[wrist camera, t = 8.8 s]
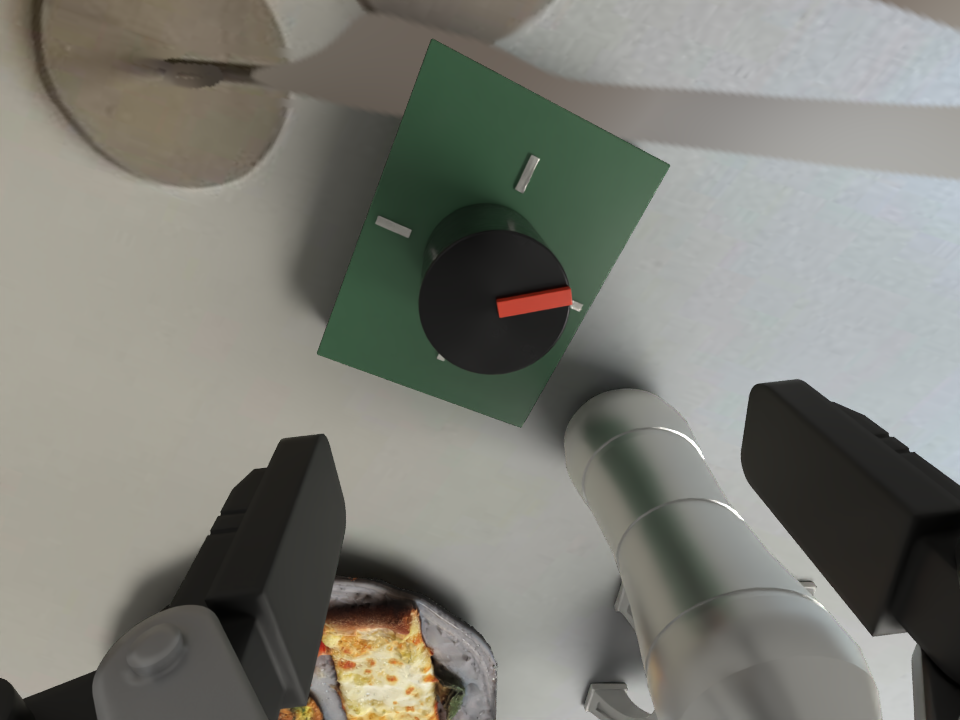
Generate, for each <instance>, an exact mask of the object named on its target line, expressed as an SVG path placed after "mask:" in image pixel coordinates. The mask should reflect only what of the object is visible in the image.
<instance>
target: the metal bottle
mask: <svg viewBox="0 0 960 720" xmlns="http://www.w3.org/2000/svg"><path fill="white" fill-rule="evenodd" d="M564 449H565V459H566V468H567V471H568V474H569V477H570V479H571V480H572V482H573V484H574V486H575V487H576V489H577V491H578V493H579V494H580V496H581V497H582V499H583V500H584V502H585V503H586V504H587V506H588V507H589V509H590V510H591V511H592V513H593V515H594V517H595V519H596V521H597V523H598V525H599V527H600V529H601V531H602V533H603V535H604V537H605V539H606V541H607V542H608V544H609V546H610V548H611V550H612V552H613V554H614V558H615V561H616V564H617V567H618V570H619V573H620V576H621V579H622V582H623V585H624V588H625V591H626V594H627V597H628V601H629V604H630V607H631V611H632V616H633V620H634V625H635V629H636V634H637V638H638V643H639V648H640V652H641V657H642V661H643V666H644V670H645V675H646V678H647V684H648V688H649V692H650V695H651V698H652V702H653V705H654V709H655V712H656V715H657V718H658V720H882V712H881V705H880V697H879V691H878V689H877V686H876V684H875V681H874V679H873V677H872V674H871V672H870V670H869V667H868V665H867V663H866V660H865V658H864V656H863V653H862V651H861V649H860V647H859V646H858V645H857V644H856V642H855V641H854V640H853V639H852V638H851V637H850V636H849V634H848V633H847V632H846V631H845V630H844V629H843V628H842V626H841V625H840V624H839V623H838V622H837V621H836V619H835V618H834V617H833V616H832V615H831V614H830V613H829V612H828V611H826V609H825V608H824V607H823V606H822V605H821V604H820V603H819V602H818V601H817V600H816V599H815V598H814V597H813V596H812V595H811V593H810V592H809V591H808V590H807V589H806V588H805V587H804V586H803V585H802V584H801V583H800V582H799V581H798V580H797V579H796V578H795V577H794V576H793V575H792V574H791V573H790V572H789V571H788V570H787V569H786V568H785V567H784V566H783V565H782V564H781V563H780V562H779V561H778V560H777V559H776V558H775V557H774V556H773V555H772V554H771V553H770V552H769V551H768V549H767V548H766V547H765V546H764V545H763V543H762V542H761V541H760V540H759V538H758V537H757V536H756V535H755V534H754V532H753V531H752V530H751V529H750V528H749V526H748V525H747V524H746V523H745V522H744V521H743V519H742V518H741V516H740V515H739V514H738V513H737V512H736V510H735V509H734V508H733V507H732V506H731V504H730V503H729V501H728V500H727V498H726V496H725V495H724V493H723V491H722V490H721V488H720V486H719V484H718V483H717V481H716V479H715V478H714V476H713V474H712V473H711V471H710V469H709V467H708V466H707V464H706V462H705V461H704V457H703V455H702V452H701V449H700V447H699V445H698V443H697V440H696V438H695V436H694V435H693V433H692V431H691V429H690V427H689V425H688V423H687V421H686V420H685V419H684V418H683V416H682V415H681V414H680V413H679V412H678V411H677V410H675V409H674V408H673V407H671V406H670V405H669V404H668V403H666V402H665V401H664V400H662V399H661V398H660V397H658V396H657V395H655V394H652V393H650V392H648V391H644V390H639V389H628V388H625V389H617V390H610V391H607V392H604V393H601V394H599V395H597V396H595V397H593V398H591V399H590V400H589V401H587V402H586V403H585V404H583V405H582V406H581V407H580V408H579V410H578V411H577V412H576V413H575V414H574V415H573V417H572V419H571V420H570V422H569V424H568V426H567V429H566V432H565V437H564Z"/></svg>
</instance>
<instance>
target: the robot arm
mask: <svg viewBox="0 0 960 720" xmlns="http://www.w3.org/2000/svg"><path fill="white" fill-rule="evenodd" d="M741 463H742V468H743V471H744V474H745V477H746V479H747V481H748V483H749V484H750V486H751V487H752V488H753V489H754V491H755V492H756V493H757V494H758V496H759V497H760V498H761V499H762V501H763V502H764V503H765V504H766V505H767V507H768V508H769V509H770V510H771V512H772V513H773V514H774V515H775V517H776V518H777V519H778V520H779V522H780V523H781V524H782V525H783V526H784V528H785V529H786V530H787V531H788V533H789V534H790V535H791V536H792V538H793V539H794V540H795V541H796V543H797V544H798V545H799V546H800V547H801V549H802V550H803V551H804V552H805V554H806V555H807V556H808V557H809V559H810V560H811V561H812V562H813V563H814V565H815V566H816V567H817V568H818V570H819V571H820V572H821V573H822V575H823V576H824V577H825V578H826V580H827V581H828V582H829V583H830V584H831V586H832V587H833V588H834V589H835V591H836V592H837V593H838V594H839V596H840V597H841V598H842V599H843V601H844V602H845V603H846V604H847V605H848V607H849V608H850V609H851V610H852V612H853V613H854V614H855V615H856V617H857V618H858V619H859V620H860V622H861V623H862V624H863V625H864V626H865V628H866V629H867V630H868V631H869V633H870V634H871V635H872V636H873V637H874V636H882V635H890V634H897V633H905V632H908V633H909V635H910V636H911V637H912V638H913V639H914V640H915V641H916V642H917V645H916V647H915V650H914V652H913V654H912V680H913V700H914V720H960V485H958V484H957V483H956V482H954V481H953V480H952V479H950V478H949V477H947V476H946V475H945V474H943V473H942V472H941V471H939V470H938V469H937V468H935V467H934V466H933V465H931V464H930V463H928V462H927V461H926V460H924V459H923V458H922V457H920V456H919V455H918V454H916V453H915V452H910V451H909V448H908V447H907V446H905V445H904V444H903V443H901V442H900V441H899V440H897V439H896V438H895V437H889V433H888V432H886V431H885V430H884V429H882V428H881V427H880V426H878V425H877V424H876V423H874V422H873V421H872V420H870V419H869V418H867V417H866V416H865V415H862V414H860V413H858V412H856V411H853V410H851V409H849V408H846V407H844V406H842V405H839V404H837V403H835V402H831V401H829V400H828V399H827V398H825V397H824V396H823V395H821V394H820V393H819V392H818V391H816V390H815V389H814V388H812V387H811V386H810V385H808V384H807V383H806V382H804V381H802V380H799V379H795V380H786V381H778V382H769V383H761V384H756V385H755V386H754V387H753V388H752V390H751V392H750V395H749V401H748V408H747V414H746V421H745V428H744V435H743V441H742V448H741ZM345 528H346V510H345V502H344V497H343V493H342V490H341V486H340V482H339V478H338V475H337V471H336V467H335V463H334V460H333V456H332V452H331V448H330V445H329V442H328V439H327V437H326V436H325V435H324V434H317V435H308V436H299V437H291V438H283V439H281V440H280V442H279V443H278V446H277V448H276V450H275V452H274V454H273V456H272V458H271V460H270V462H269V465H268V467H267V468H260V469H254V470H253V471H252V472H251V473H249V474H248V475H247V476H246V477H245V478H244V479H243V480H242V481H241V482H240V483H239V484H238V485H237V486H236V487H234V488H233V489H232V491H231V493H230V495H229V497H228V499H227V500H226V502H225V504H224V506H223V508H222V510H221V516H218V517H217V519H216V521H215V523H214V525H213V526H212V528H211V530H210V531H211V534H210V535H208V536H207V538H206V540H205V541H204V543H203V545H202V547H201V549H200V551H199V553H198V554H197V556H196V558H195V560H194V562H193V564H192V566H191V567H190V569H189V571H188V573H187V575H186V577H185V579H184V580H183V582H182V584H181V586H180V588H179V590H178V592H177V594H176V595H175V597H174V599H173V601H172V603H171V605H170V607H169V608H168V609H166V610H164V611H161V612H159V613H157V614H155V615H153V616H151V617H149V618H147V619H145V620H144V621H142V622H140V623H139V624H137V625H136V626H134V627H133V628H132V629H131V630H129V631H128V632H127V633H126V634H124V635H123V636H122V637H121V638H120V639H119V640H118V641H117V642H116V643H115V644H114V645H113V646H112V647H111V648H110V650H109V651H108V652H107V654H106V655H105V656H104V658H103V659H102V661H101V663H100V665H99V666H98V668H97V670H96V671H93V672H91V673H89V674H86V675H83V676H81V677H78V678H76V679H73V680H71V681H68V682H66V683H63V684H60V685H58V686H55V687H53V688H50V689H48V690H45V691H42V692H40V693H37V694H35V695H32V696H30V697H27V698H24V699H22V698H21V696H20V695H19V694H18V693H17V691H16V690H15V689H14V687H13V686H12V685H11V684H10V683H9V682H8V681H7V680H5V679H2V678H0V720H278V717H279V713H280V709H286V708H294V707H302V706H307V701H308V697H309V692H310V688H311V683H312V679H313V674H314V670H315V665H316V661H317V656H318V652H319V647H320V643H321V638H322V634H323V629H324V625H325V620H326V616H327V611H328V607H329V602H330V598H331V593H332V589H333V584H334V580H335V575H336V571H337V566H338V562H339V557H340V553H341V548H342V544H343V539H344V534H345Z"/></svg>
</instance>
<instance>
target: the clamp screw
mask: <svg viewBox="0 0 960 720" xmlns="http://www.w3.org/2000/svg"><path fill="white" fill-rule="evenodd" d="M571 305H572V293H571V288H570V285H569V281H568V278H567V274H566V272H565V270H564V268H563V266H562V264H561V263H560V261H559V260H558V258H557V257H556V256H555V254H554V253H553V252H552V250H551V249H550V248H549V247H548V245H547V244H546V243H545V241H544V240H543V239H542V237H541V236H540V235H539V233H538V232H537V231H536V230H535V228H534V227H533V226H532V225H531V223H530V222H529V221H528V220H527V219H526V218H524V217H523V216H522V215H521V214H519V213H518V212H516V211H514V210H512V209H510V208H508V207H505V206H502V205H499V204H492V203H479V204H472V205H468V206H465V207H462V208H460V209H457V210H456V211H454V212H452V213H450V214H449V215H448V216H446V217H445V218H444V219H443V220H442V221H441V222H440V223H439V224H438V225H437V226H436V227H435V229H434V230H433V231H432V233H431V235H430V237H429V238H428V241H427V243H426V246H425V250H424V254H423V262H422V271H421V280H420V290H419V299H418V311H419V317H420V322H421V325H422V328H423V331H424V333H425V335H426V337H427V339H428V340H429V342H430V344H431V345H432V346H433V348H434V349H435V350H436V351H437V352H438V353H439V354H440V355H441V356H442V357H443V358H444V359H446V360H447V361H449V362H450V363H452V364H453V365H455V366H457V367H459V368H461V369H464V370H467V371H469V372H473V373H478V374H485V375H499V374H507V373H511V372H515V371H518V370H521V369H523V368H526V367H528V366H530V365H532V364H533V363H535V362H536V361H538V360H539V359H541V358H542V357H543V356H544V355H546V354H547V353H548V352H549V351H550V350H551V349H552V347H553V346H554V345H555V344H556V342H557V341H558V340H559V338H560V337H561V335H562V333H563V331H564V329H565V327H566V324H567V322H568V318H569V314H570V308H571Z"/></svg>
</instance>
